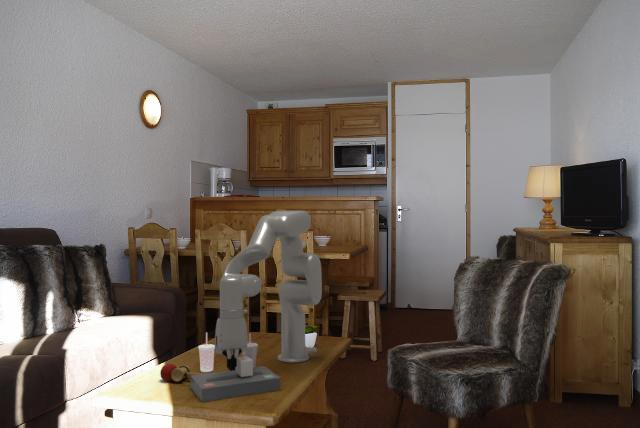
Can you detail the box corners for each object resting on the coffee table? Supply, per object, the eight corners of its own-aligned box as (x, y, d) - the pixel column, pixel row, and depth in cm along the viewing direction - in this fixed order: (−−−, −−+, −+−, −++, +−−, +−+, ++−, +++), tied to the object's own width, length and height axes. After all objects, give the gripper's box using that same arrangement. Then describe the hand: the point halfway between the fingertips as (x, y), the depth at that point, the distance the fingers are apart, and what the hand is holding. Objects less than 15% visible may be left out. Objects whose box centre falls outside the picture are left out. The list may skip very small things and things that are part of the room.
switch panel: (260, 374, 196) (260, 363, 196) (280, 389, 179) (280, 377, 179) (188, 384, 185) (188, 372, 185) (201, 402, 168) (201, 388, 168)
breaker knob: (247, 370, 185) (247, 356, 186) (252, 375, 180) (252, 360, 180) (235, 372, 184) (235, 357, 184) (241, 377, 178) (241, 361, 178)
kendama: (213, 382, 193) (165, 373, 195) (215, 365, 191) (166, 357, 194) (206, 393, 185) (156, 383, 188) (207, 376, 184) (156, 367, 186)
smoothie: (244, 374, 197) (244, 335, 197) (238, 369, 203) (238, 332, 203) (260, 371, 200) (260, 333, 200) (254, 367, 206) (254, 330, 206)
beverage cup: (211, 372, 199) (211, 334, 199) (195, 372, 200) (195, 334, 200) (217, 368, 205) (217, 331, 205) (202, 367, 206) (202, 330, 206)
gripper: (249, 310, 187) (249, 364, 187) (206, 314, 180) (206, 369, 180) (256, 314, 180) (257, 369, 180) (211, 318, 174) (212, 375, 174)
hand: (231, 369), depth 180 cm, fingers closed
